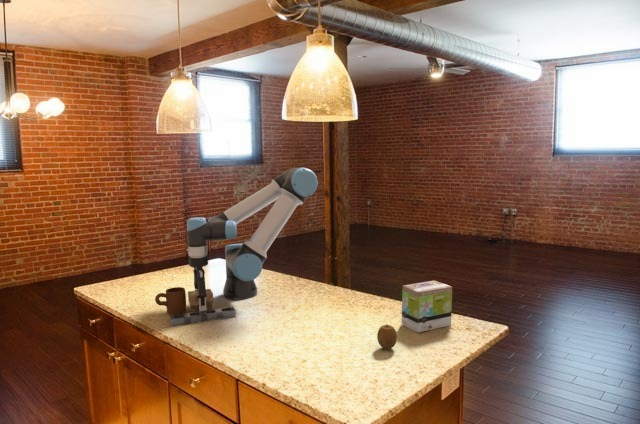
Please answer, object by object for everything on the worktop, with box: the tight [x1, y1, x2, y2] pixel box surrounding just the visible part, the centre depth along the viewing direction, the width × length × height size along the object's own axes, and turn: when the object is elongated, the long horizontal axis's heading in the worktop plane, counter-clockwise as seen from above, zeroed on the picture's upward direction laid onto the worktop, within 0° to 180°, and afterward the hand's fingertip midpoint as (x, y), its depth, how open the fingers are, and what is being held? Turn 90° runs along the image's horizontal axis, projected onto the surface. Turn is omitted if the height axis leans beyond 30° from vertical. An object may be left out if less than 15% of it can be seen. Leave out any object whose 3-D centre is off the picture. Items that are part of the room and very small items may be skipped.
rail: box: [169, 306, 237, 327], centre depth 180 cm, size 24×5×3 cm, turn 112°
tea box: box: [401, 280, 453, 334], centre depth 168 cm, size 15×10×15 cm
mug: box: [154, 286, 187, 316], centre depth 187 cm, size 12×8×9 cm, turn 128°
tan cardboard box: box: [187, 288, 214, 312], centre depth 192 cm, size 9×7×7 cm
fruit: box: [376, 324, 398, 350], centre depth 149 cm, size 6×6×8 cm
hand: (200, 308), depth 192 cm, fingers open, 11 cm apart
